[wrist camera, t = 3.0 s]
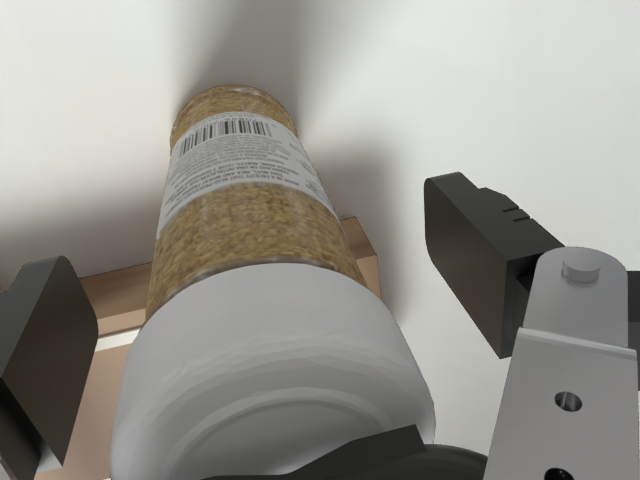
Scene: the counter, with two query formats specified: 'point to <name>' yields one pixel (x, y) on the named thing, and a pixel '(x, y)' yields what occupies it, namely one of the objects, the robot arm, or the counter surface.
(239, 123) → the sprinkles bottle
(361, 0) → the counter surface
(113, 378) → the walnut board
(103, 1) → the counter surface
